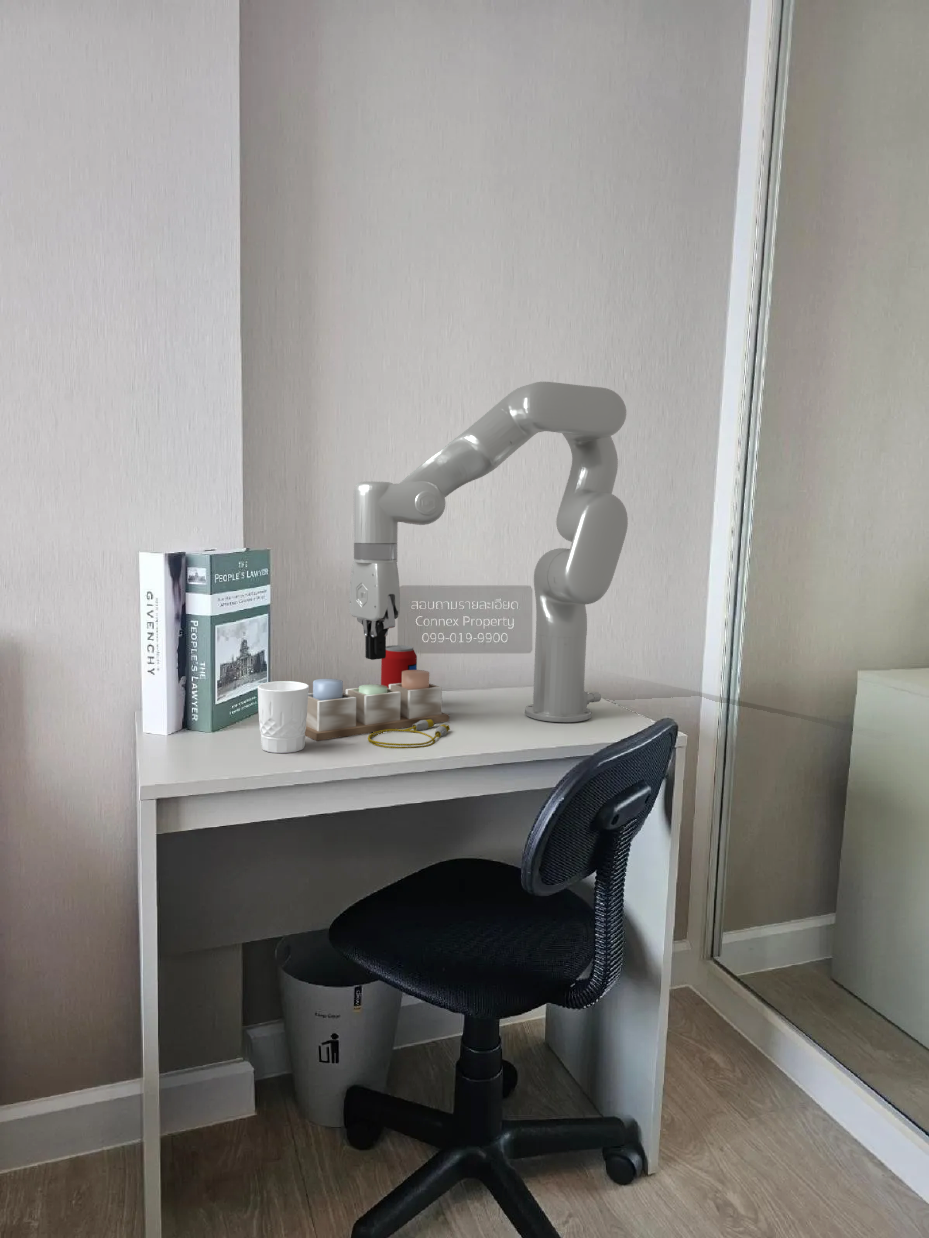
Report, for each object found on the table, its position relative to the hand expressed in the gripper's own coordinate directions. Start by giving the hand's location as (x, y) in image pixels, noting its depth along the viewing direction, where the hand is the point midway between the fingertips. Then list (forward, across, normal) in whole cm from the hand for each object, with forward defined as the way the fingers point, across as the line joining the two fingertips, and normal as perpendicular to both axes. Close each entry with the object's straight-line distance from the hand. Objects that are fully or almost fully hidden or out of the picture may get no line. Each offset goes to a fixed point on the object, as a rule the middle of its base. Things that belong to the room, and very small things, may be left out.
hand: (375, 658), depth 157 cm
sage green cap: (+10, 0, -1) cm, 10 cm away
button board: (+12, 0, 0) cm, 12 cm away
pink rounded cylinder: (+8, 0, +9) cm, 12 cm away
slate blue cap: (+8, 0, -9) cm, 12 cm away
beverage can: (+12, -9, +10) cm, 18 cm away
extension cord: (+13, +11, 0) cm, 17 cm away
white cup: (+12, +5, -20) cm, 24 cm away
